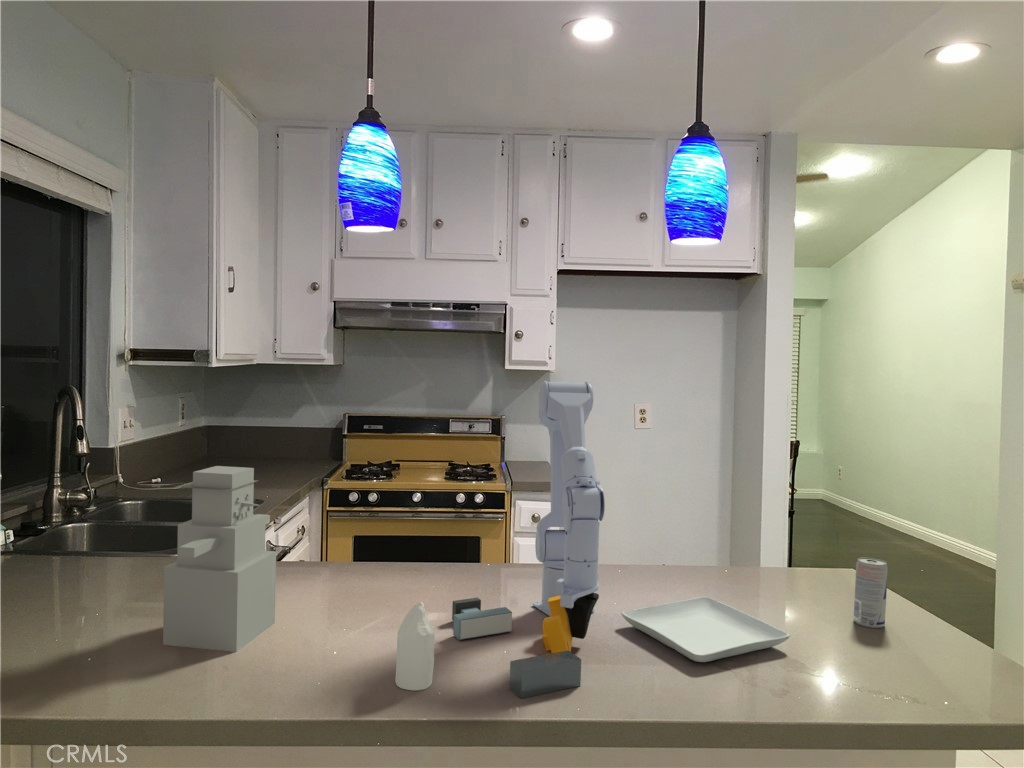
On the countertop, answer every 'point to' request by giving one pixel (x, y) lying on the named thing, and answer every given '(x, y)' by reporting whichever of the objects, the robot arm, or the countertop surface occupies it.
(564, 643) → the pipe clamp
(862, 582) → the energy drink
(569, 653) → the block
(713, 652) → the salad plate
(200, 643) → the stacked tiered boxes
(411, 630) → the pale white bottle
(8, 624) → the countertop surface
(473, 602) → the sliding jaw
